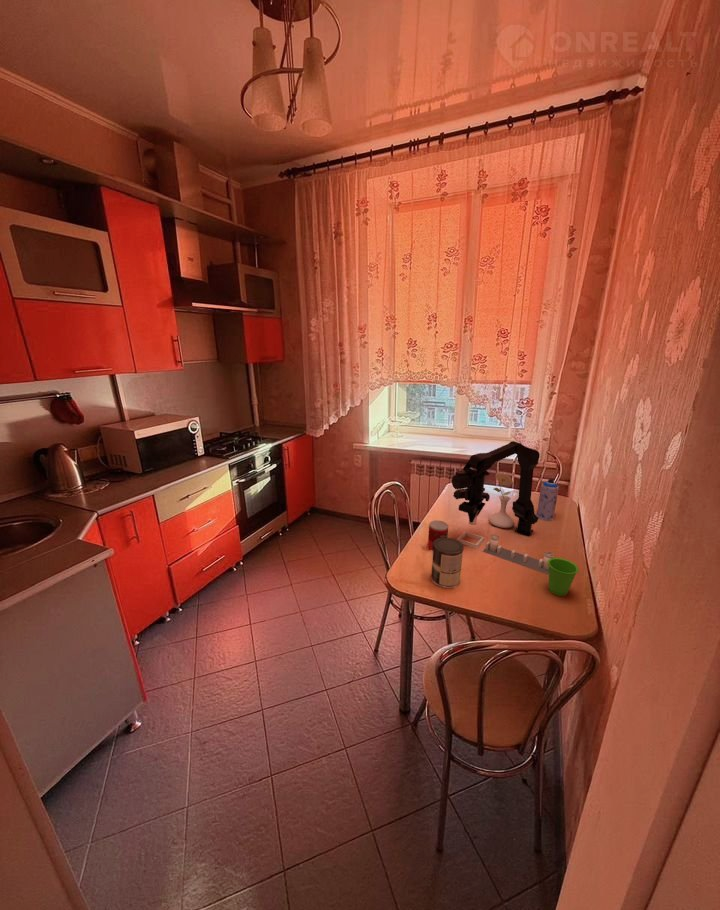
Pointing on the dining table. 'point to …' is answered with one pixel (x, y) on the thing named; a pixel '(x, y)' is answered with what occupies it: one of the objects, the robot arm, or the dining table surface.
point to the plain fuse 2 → (546, 557)
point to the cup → (561, 575)
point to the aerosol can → (547, 500)
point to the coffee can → (447, 562)
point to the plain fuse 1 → (494, 543)
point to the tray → (470, 542)
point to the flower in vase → (502, 504)
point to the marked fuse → (473, 521)
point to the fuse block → (517, 558)
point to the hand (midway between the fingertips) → (472, 520)
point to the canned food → (436, 532)
